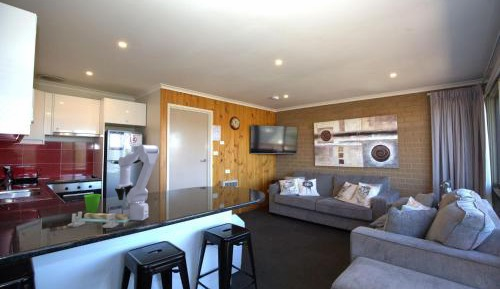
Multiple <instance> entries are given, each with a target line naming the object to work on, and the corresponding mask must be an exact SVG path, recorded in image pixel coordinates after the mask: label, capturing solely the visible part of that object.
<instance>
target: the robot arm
mask: <svg viewBox="0 0 500 289" xmlns="http://www.w3.org/2000/svg"><path fill="white" fill-rule="evenodd" d="M159 149H160V148H159V147H158V145H155V144H154V145H153V144H152V145H151V144H150V145H149V144H139V145H138V146H137V148H136V150H135V151H130V152H129V153H128V154H126V155H125V156H119V158H118V161H117V164H118V166H119V183H117V184H116V187H115V188H114V190H115V193H116V195H117V198H118V201H123V200H124V197H125V198H126V201H127V202H128V204H129V217H130V219H129V221H144V220H146V219H147V218H149V217H150V216H149V204H148V203H147V202H146V201H147V199H148V193H149V191H148V189H147V188H146V187H147V185H148V183H149V180H150V177H151V175H152V172H153V169H154V168H155V165H156V164H155V163H156V161H157V159H158V157H159V154H160V150H159ZM138 159H140V162H142V163H143V166H142V168H141V170H140V173H139V176H138V178H137V181H136V184H135V186H134V185H133V182H131V170H132V168H133V164H134V163H135V162H136V161H138ZM124 194H125V195H124Z"/></svg>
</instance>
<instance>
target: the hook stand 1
mask: <svg viewBox="0 0 500 289" xmlns="http://www.w3.org/2000/svg"><path fill="white" fill-rule="evenodd" d="M82 216H83V211H78V212H77V213H72V214H71V223H69V224H67V227H72V228H78V227H80V226H82V225H85V224H86V223H87V222H85V221H82V218H83V217H82Z"/></svg>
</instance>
